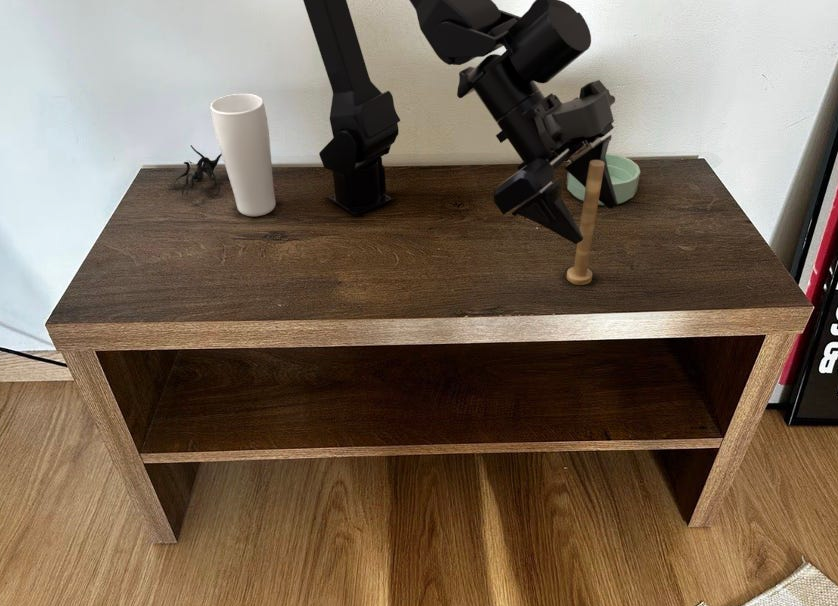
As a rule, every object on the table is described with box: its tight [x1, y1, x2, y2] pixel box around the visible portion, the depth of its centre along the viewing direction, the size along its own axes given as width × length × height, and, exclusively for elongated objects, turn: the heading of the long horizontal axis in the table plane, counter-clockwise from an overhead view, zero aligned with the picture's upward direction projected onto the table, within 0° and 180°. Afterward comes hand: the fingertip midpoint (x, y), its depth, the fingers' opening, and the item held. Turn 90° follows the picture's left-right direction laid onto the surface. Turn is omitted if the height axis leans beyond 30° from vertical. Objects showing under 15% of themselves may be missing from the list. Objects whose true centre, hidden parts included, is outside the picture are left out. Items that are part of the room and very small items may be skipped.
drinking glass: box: [209, 93, 277, 218], centre depth 93 cm, size 7×7×15 cm
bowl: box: [566, 152, 641, 206], centre depth 100 cm, size 10×10×4 cm
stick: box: [566, 160, 605, 286], centre depth 80 cm, size 3×3×15 cm
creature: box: [173, 144, 222, 198], centre depth 101 cm, size 8×5×8 cm
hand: (597, 223), depth 79 cm, fingers open, 9 cm apart
